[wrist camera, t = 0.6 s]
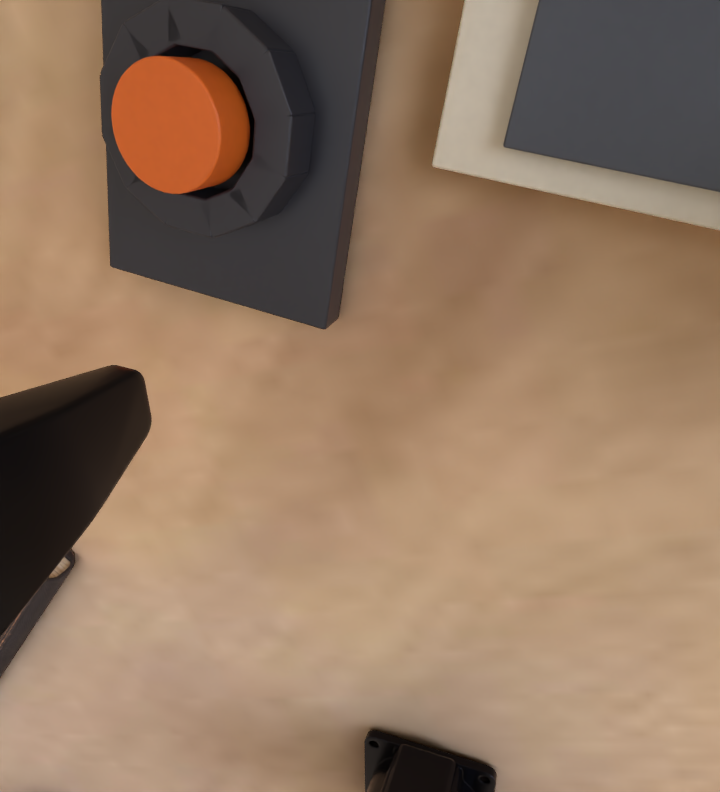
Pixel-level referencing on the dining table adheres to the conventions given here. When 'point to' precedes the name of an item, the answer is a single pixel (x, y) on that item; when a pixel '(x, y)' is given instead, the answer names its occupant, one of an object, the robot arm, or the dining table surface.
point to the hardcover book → (33, 612)
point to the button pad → (252, 150)
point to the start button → (180, 123)
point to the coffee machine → (590, 102)
